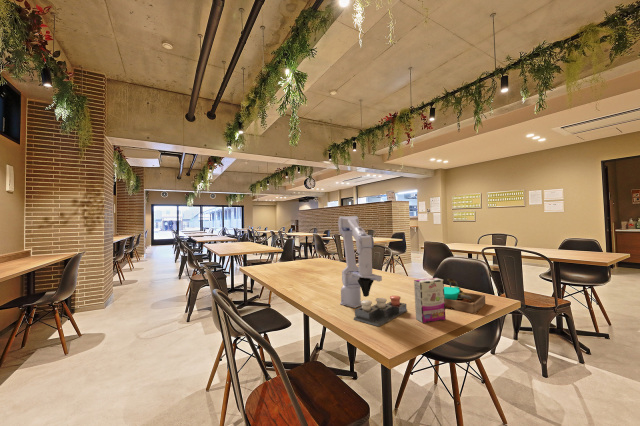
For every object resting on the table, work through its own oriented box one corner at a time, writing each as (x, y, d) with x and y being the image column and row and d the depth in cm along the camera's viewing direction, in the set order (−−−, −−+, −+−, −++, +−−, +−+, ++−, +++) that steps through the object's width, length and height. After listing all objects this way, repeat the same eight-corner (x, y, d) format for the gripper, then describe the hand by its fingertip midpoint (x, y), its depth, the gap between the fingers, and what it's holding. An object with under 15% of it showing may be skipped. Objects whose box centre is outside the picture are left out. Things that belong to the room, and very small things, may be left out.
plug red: (388, 305, 121) (387, 297, 121) (393, 303, 124) (392, 294, 124) (397, 307, 118) (397, 299, 118) (402, 305, 121) (402, 296, 121)
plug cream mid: (373, 308, 118) (373, 299, 118) (379, 305, 121) (379, 297, 121) (383, 310, 115) (383, 301, 115) (388, 307, 118) (388, 299, 118)
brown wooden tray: (424, 303, 132) (424, 295, 132) (438, 295, 145) (438, 288, 145) (475, 313, 117) (474, 304, 117) (485, 303, 130) (485, 295, 130)
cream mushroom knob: (358, 310, 115) (358, 302, 115) (365, 308, 118) (364, 299, 118) (368, 313, 112) (367, 304, 112) (374, 310, 115) (373, 301, 115)
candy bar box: (437, 316, 115) (436, 277, 116) (446, 320, 111) (444, 279, 111) (414, 319, 112) (413, 279, 113) (422, 323, 108) (421, 282, 108)
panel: (352, 319, 114) (352, 310, 114) (382, 305, 131) (382, 297, 131) (380, 327, 105) (379, 317, 105) (408, 311, 122) (407, 303, 122)
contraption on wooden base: (478, 303, 130) (477, 272, 131) (460, 311, 120) (458, 277, 120) (449, 297, 142) (448, 268, 142) (430, 304, 131) (429, 272, 131)
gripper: (346, 263, 118) (346, 295, 117) (374, 266, 108) (375, 301, 107) (355, 261, 123) (356, 291, 122) (384, 264, 113) (384, 297, 112)
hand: (366, 296), depth 115 cm, fingers closed
